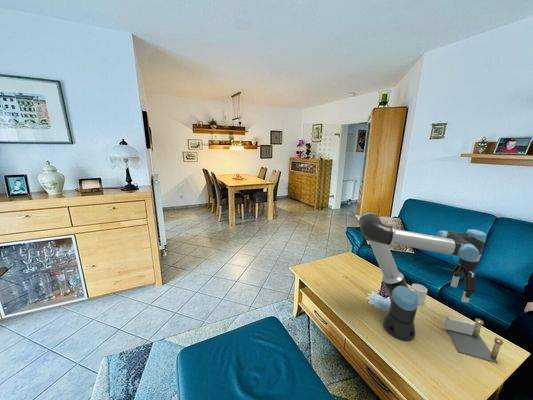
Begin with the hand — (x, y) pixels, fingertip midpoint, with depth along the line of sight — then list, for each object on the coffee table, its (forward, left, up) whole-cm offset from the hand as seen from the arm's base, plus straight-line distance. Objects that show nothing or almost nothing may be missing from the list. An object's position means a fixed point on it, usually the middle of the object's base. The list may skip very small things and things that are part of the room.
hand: (458, 293), depth 119 cm
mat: (+4, -11, -21) cm, 24 cm away
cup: (-15, +15, -21) cm, 29 cm away
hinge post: (+8, -6, -21) cm, 23 cm away
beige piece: (+1, -6, -19) cm, 20 cm away
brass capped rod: (+11, -18, -21) cm, 29 cm away
